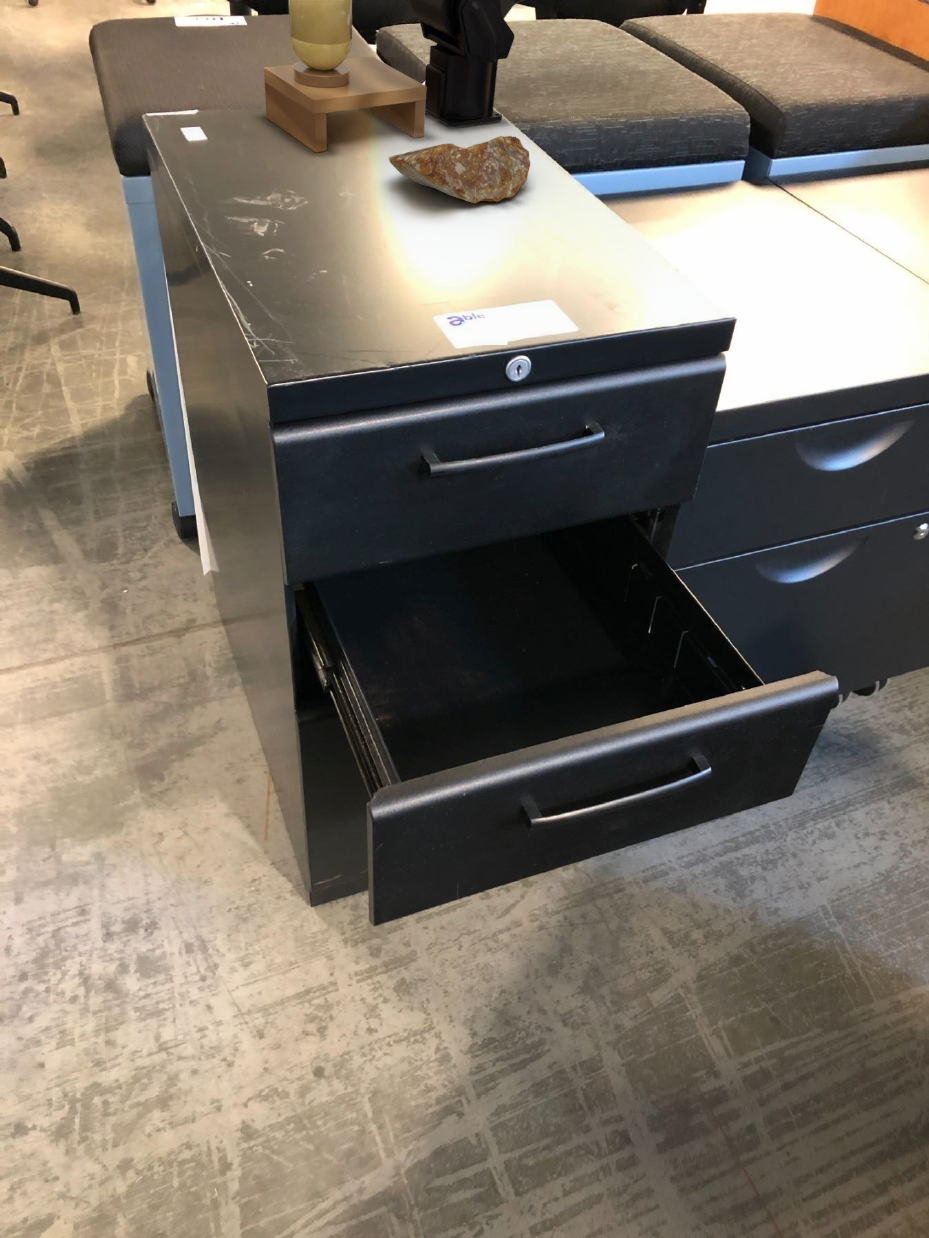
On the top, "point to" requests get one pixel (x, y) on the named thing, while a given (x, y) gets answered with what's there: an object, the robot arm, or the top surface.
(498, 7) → the robot arm
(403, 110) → the shelf
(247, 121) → the top surface
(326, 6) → the yellow capsule on stand
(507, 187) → the decorative stone
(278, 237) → the top surface
